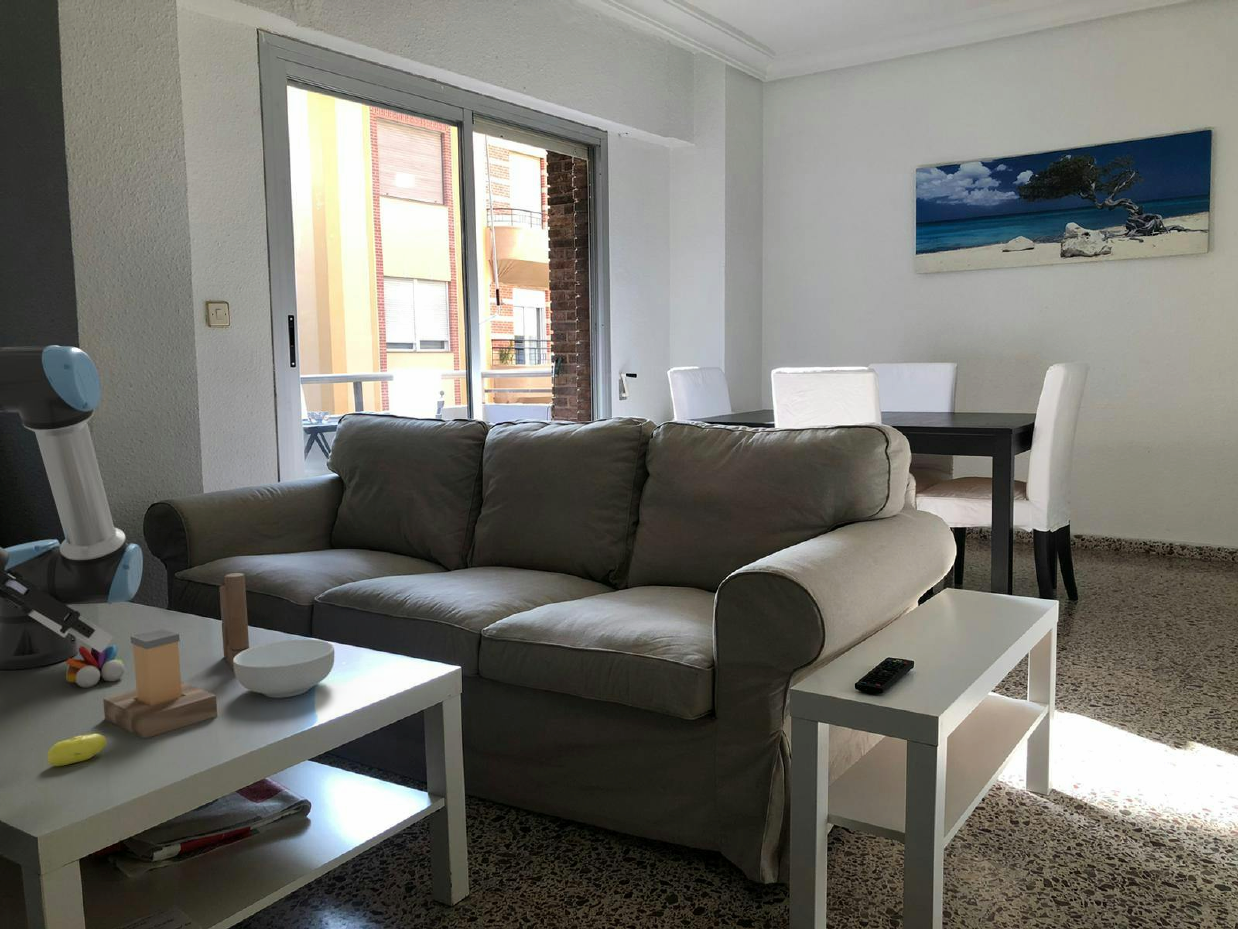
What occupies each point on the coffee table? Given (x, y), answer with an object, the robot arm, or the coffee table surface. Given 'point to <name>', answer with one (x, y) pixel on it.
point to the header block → (159, 711)
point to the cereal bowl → (284, 666)
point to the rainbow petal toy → (94, 667)
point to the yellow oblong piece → (76, 749)
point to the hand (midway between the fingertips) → (87, 637)
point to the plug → (157, 666)
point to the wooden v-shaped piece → (234, 616)
